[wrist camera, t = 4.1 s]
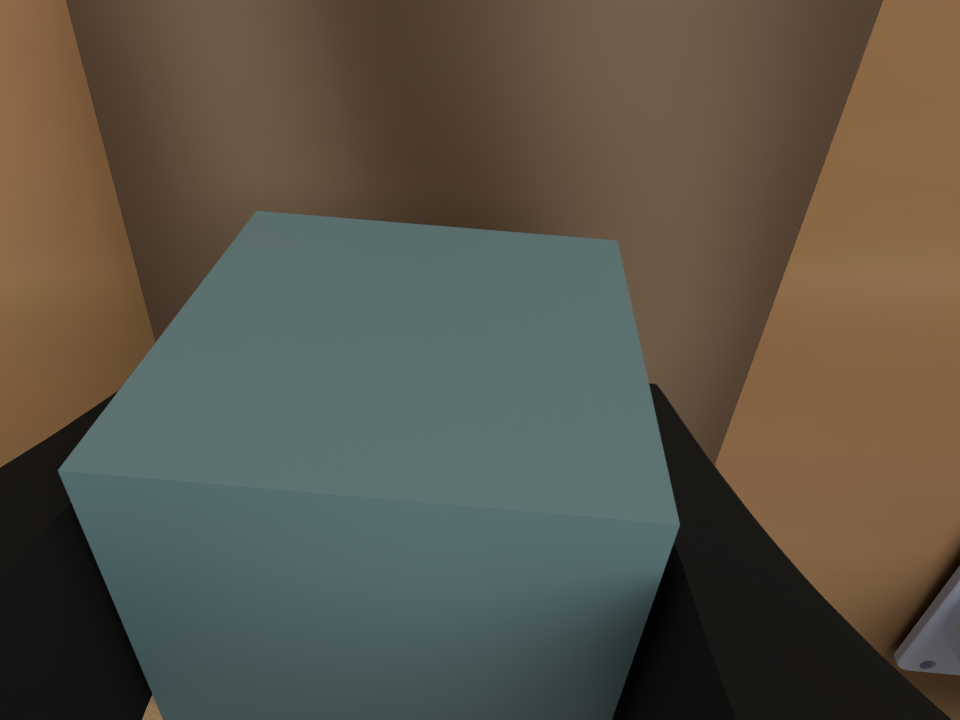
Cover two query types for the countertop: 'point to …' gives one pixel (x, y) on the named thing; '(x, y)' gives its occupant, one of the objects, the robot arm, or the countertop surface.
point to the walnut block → (490, 140)
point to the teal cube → (385, 480)
